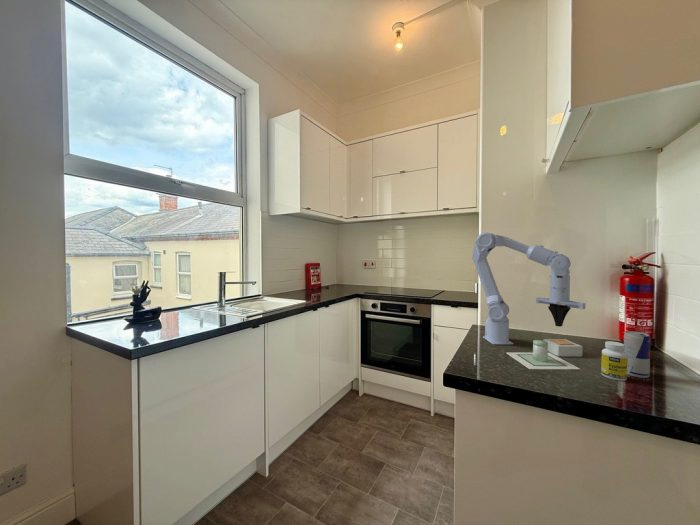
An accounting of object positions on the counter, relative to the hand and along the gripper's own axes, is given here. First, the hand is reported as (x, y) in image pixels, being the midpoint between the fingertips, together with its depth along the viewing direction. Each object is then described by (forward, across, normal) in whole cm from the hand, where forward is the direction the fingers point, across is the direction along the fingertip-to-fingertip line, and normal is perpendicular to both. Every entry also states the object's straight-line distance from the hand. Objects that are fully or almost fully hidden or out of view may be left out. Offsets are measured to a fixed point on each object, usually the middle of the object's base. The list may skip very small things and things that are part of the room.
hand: (558, 325), depth 100 cm
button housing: (+9, +1, 0) cm, 9 cm away
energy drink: (+9, +21, -2) cm, 23 cm away
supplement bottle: (+10, +18, -10) cm, 23 cm away
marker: (+9, +1, -15) cm, 17 cm away
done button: (+8, +1, 0) cm, 8 cm away
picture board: (+9, +1, -15) cm, 17 cm away
